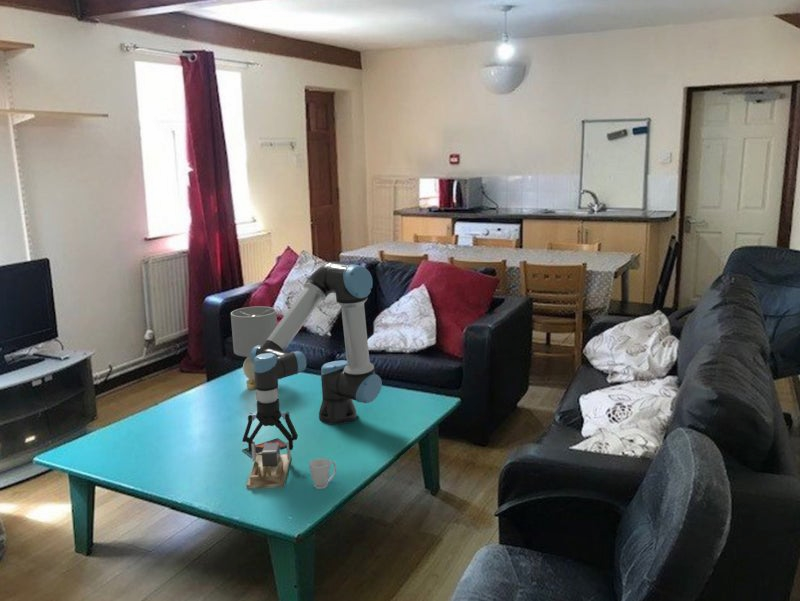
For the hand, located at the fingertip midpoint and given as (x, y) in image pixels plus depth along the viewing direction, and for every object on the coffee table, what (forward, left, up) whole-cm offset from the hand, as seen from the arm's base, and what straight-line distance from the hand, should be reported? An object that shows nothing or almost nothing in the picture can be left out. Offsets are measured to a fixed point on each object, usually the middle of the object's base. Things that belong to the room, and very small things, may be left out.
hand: (271, 459), depth 240 cm
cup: (-19, +15, -2) cm, 25 cm away
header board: (0, +5, -2) cm, 6 cm away
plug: (0, 0, -1) cm, 1 cm away
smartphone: (+4, -14, -3) cm, 14 cm away
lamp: (+17, -82, -2) cm, 83 cm away
